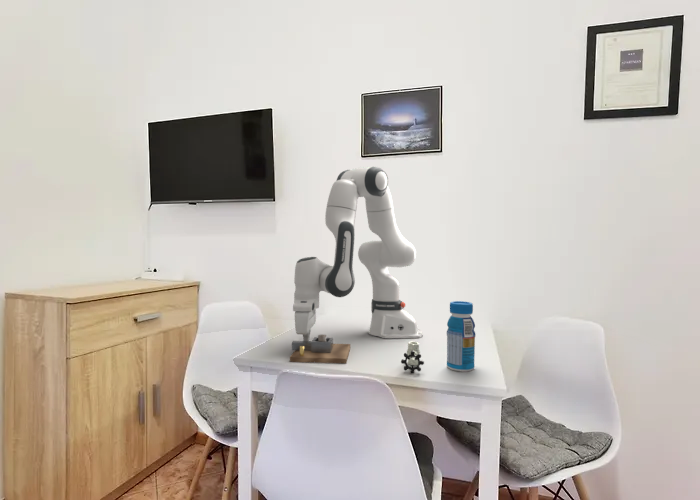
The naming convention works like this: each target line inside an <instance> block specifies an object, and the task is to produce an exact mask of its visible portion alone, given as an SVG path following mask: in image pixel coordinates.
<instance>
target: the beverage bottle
mask: <svg viewBox="0 0 700 500" xmlns="http://www.w3.org/2000/svg"><path fill="white" fill-rule="evenodd" d="M473 305H474V304H473V303H472V302H470V301H462V300H461V301H460V300H459V301H458V300H455V301H454V300H453V301H450V302H449V313H450V314H451V315H450V316H449V318H448V320H447V324H446V325H447V330H446V367H447V368H448V369H449V370H452V371H454V372H461V373H462V372H463V373H464V372H472V371H473V370H475V354H476V353H475V351H476V350H475V347H476V345H475V344H476V331H475V327H476V324H475V321H474V319H473V318H472V316H471V315H473V310H474V306H473Z"/></svg>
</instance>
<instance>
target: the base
mask: <svg viewBox="0 0 700 500" xmlns="http://www.w3.org/2000/svg"><path fill="white" fill-rule="evenodd" d="M317 337H318V341H323V342H326V338H327V334H318V335H317ZM350 351H351V343H333V349H332V351H331V353H312V352H311V351H304V356H300V350H293V352H292V354H291V355H290V356H289V362H292V363H314V362H315V363H316V364H317V363H318V364H319V363H321V364H322V363H325V364H347V362H348V358H349V356H350ZM315 363H314V364H315Z"/></svg>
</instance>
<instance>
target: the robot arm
mask: <svg viewBox="0 0 700 500" xmlns="http://www.w3.org/2000/svg"><path fill="white" fill-rule="evenodd" d="M331 186H332V187H331V188H330V191H329V194H328V198H327V204H326V208H325V218H324V220H325V221H324V222H325V226H326V228H327V229H328V230H329V231H330V232H331V233H332V235H333V236H334V239H335V247H334V248H335V250H334V262H333V266H332V265H331V264H328V263H325V262H323V261H321V260H320V259H319V258H318V257H317V256H309V257H307V256H306V257H302V258H300V259H298V260H297V261H296V264H295V267H294V280H293V281H294V286H295V288H294V289H295V290H294V295H293V296H294V297H293V299H294V300H293V306H292V311H293V312H294V328H295V333H296V334H297V335H302V341H310V340H311V338H310V335H311V329H312V328H313V326H315V325H316V319H317V316H316V315H317V314H316V313H317V311H316V310H317V309H319V308H320V292H325V293H327V294H329V295H332V296H333V297H336V298H344V297H346V296H348V295H350V294H351V292H352V291H353V290H354V287H355V283H356V282H355V281H356V280H355V274H354V270H353V268H354V267H353V265H354V263H353V262H354V261H353V260H354V250H355V222H356V215H357V207H358V199H359V198H364V201H365V210H366V216H367V217H366V218H367V224H368V228H369V230H370V231H371V232H372V233H374V235H376V236H378V238H379V239H380V240H370V241H367V242H366V241H365V242H363V243H362V244H360V246H359V248H358V251H357V256H358V260H359V261H360V263H361V264H363V266H364V267H365V268H366V269H367V271H368V273H369V275H370V279H371V284H372V299H371V306H370V308H371V318H370V319H371V321H370V325H369V326H370V327H369V329H368V334H369V335H371V336H375V337H379V338H382V339H419V338H422V337H423V335H424V333H423V331H422V330H421V329H419V328H418V323H417V320H416V318H414V316H413V315H411V314H410V313H409V312H408V311H407V310H405V307H406V303H405V302H404V301H403V300H401V299H400V282H399V280H398V279H397V278H396V277H394V276H393V275H392V274H391V273H390V271H389V268H404V267H405V268H406V267H410V266H412V265H413V264H414V262H415V260H416V257H417V250H416V248H415V246H414V245H413V243H411V242H410V241H408V239H406V238H405V237H404V236H403V235H402V233H401V231H400V230H399V227H398V225H397V221H396V216H395V210H394V203H393V198H392V194H391V191H390V188H389V178H388V175H387V173H386V171H385V170H384V168H382V167H378V166H371V167H368V166H365V167H364V166H363V167H361V166H360V167H357V168H352V169H347V170H344V171H342V172H340V173H339V175H338V176H337V178H336V180H335V181H334V182H333V184H332V185H331Z"/></svg>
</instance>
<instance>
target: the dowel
mask: <svg viewBox="0 0 700 500" xmlns="http://www.w3.org/2000/svg"><path fill="white" fill-rule="evenodd" d="M300 356H304V346H300Z"/></svg>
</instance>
